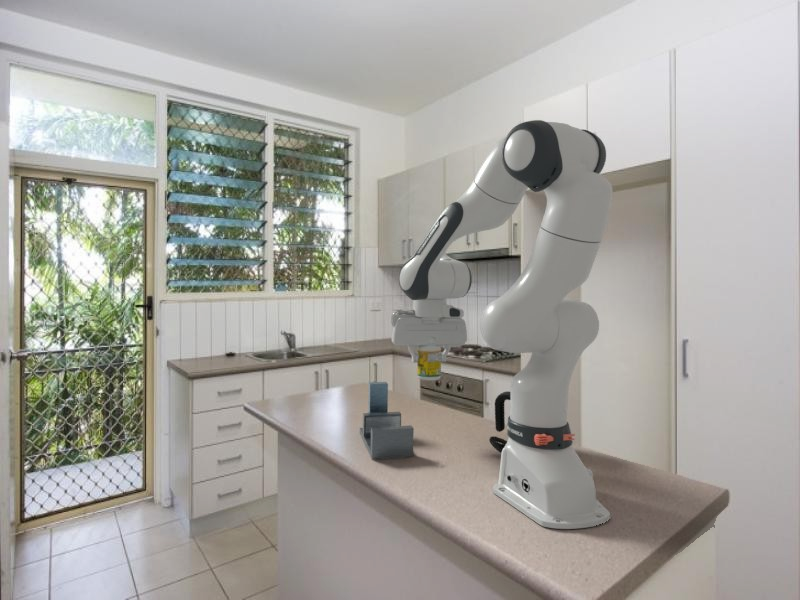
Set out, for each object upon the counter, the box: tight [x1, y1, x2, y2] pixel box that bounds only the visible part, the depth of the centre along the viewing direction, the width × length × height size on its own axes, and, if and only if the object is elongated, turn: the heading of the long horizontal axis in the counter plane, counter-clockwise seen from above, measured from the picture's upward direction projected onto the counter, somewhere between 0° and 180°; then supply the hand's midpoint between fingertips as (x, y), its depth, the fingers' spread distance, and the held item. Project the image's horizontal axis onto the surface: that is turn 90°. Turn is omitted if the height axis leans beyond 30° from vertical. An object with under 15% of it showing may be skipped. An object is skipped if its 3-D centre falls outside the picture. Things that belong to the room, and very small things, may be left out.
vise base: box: [359, 424, 414, 461], centre depth 116 cm, size 20×10×7 cm, turn 14°
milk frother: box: [489, 391, 511, 453], centre depth 114 cm, size 14×16×15 cm
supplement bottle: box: [416, 337, 442, 381], centre depth 120 cm, size 6×6×11 cm
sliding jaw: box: [362, 381, 402, 436], centre depth 122 cm, size 9×10×12 cm
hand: (429, 361), depth 120 cm, fingers closed on supplement bottle, 6 cm apart
